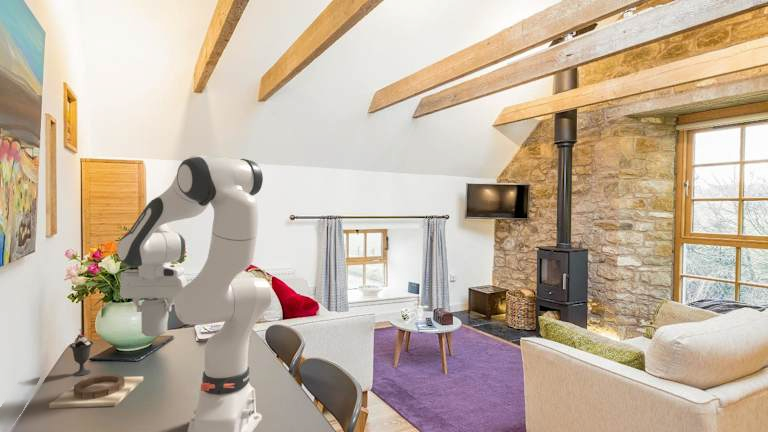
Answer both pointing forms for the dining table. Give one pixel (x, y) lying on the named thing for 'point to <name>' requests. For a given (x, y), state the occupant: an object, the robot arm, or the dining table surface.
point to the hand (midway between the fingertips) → (154, 311)
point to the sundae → (81, 353)
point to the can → (154, 316)
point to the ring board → (97, 401)
